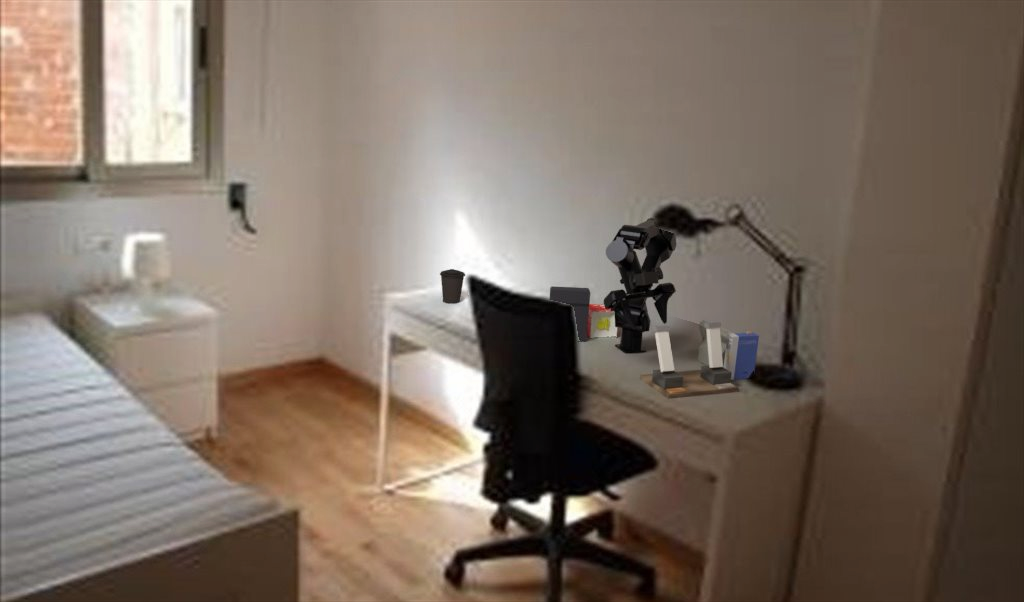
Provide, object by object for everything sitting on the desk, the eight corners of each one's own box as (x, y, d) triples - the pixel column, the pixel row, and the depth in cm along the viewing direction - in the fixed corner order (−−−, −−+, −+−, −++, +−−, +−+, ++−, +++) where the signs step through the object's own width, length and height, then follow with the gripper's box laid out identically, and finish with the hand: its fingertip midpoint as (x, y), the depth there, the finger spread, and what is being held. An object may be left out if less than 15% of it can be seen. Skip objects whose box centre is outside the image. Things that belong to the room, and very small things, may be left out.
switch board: (640, 378, 241) (641, 363, 240) (707, 372, 248) (709, 358, 247) (668, 398, 229) (669, 382, 228) (738, 391, 236) (740, 376, 235)
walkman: (747, 374, 249) (753, 331, 246) (753, 378, 246) (759, 334, 243) (721, 376, 246) (726, 332, 243) (726, 380, 244) (732, 335, 241)
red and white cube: (590, 338, 272) (592, 311, 270) (582, 330, 280) (584, 304, 278) (616, 338, 274) (619, 311, 272) (608, 330, 281) (611, 304, 279)
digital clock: (747, 374, 249) (752, 336, 246) (716, 376, 247) (720, 336, 244) (720, 354, 264) (724, 318, 261) (690, 355, 262) (694, 318, 259)
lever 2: (707, 367, 240) (704, 323, 240) (720, 366, 241) (716, 322, 241) (712, 367, 238) (708, 322, 238) (724, 366, 239) (720, 322, 240)
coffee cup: (454, 296, 307) (455, 266, 305) (469, 302, 301) (470, 272, 299) (433, 299, 302) (434, 269, 299) (448, 306, 296) (449, 275, 294)
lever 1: (659, 372, 234) (652, 328, 237) (672, 371, 236) (665, 327, 238) (663, 371, 233) (656, 326, 235) (676, 370, 234) (669, 325, 236)
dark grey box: (584, 337, 272) (588, 287, 268) (586, 342, 268) (590, 291, 264) (546, 336, 272) (550, 285, 268) (547, 340, 267) (551, 289, 263)
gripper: (611, 261, 238) (631, 318, 232) (675, 253, 245) (695, 307, 240) (594, 280, 247) (613, 335, 242) (656, 272, 254) (675, 325, 249)
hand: (650, 325), depth 243 cm, fingers open, 9 cm apart
